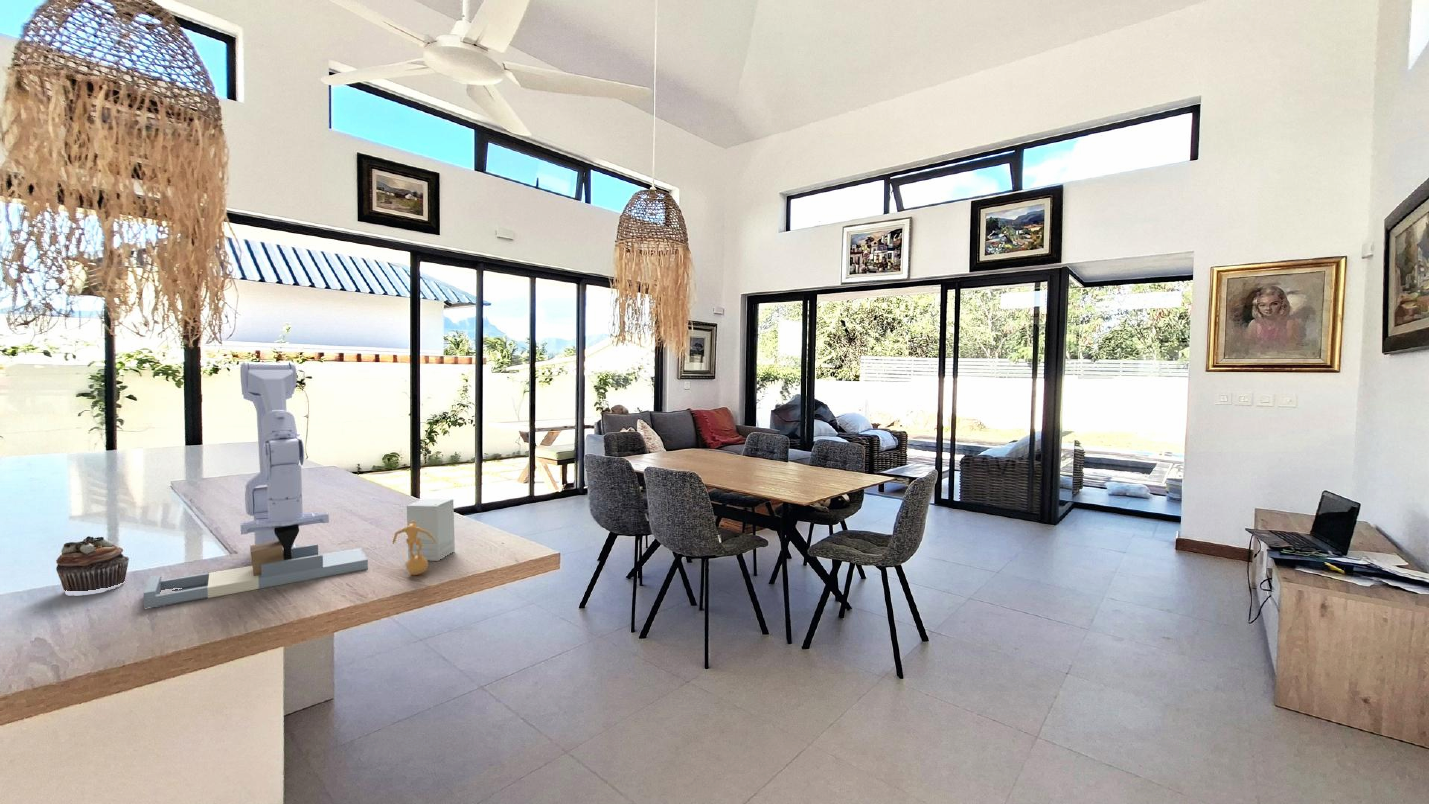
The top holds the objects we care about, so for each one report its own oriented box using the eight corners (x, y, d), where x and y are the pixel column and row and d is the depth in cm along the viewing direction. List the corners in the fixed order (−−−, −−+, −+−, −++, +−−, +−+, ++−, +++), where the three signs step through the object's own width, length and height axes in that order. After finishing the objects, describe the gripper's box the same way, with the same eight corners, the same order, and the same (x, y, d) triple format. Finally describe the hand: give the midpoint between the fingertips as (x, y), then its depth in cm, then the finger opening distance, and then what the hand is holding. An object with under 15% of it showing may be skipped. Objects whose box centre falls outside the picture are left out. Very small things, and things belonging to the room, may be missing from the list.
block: (253, 569, 118) (249, 545, 118) (283, 562, 122) (280, 539, 121) (253, 576, 115) (250, 551, 114) (285, 569, 118) (282, 545, 117)
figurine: (441, 570, 125) (440, 515, 124) (431, 580, 119) (430, 522, 118) (400, 571, 123) (399, 516, 123) (388, 582, 117) (387, 523, 117)
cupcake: (103, 596, 109) (101, 544, 108) (41, 600, 107) (38, 546, 106) (143, 578, 118) (141, 529, 117) (87, 581, 116) (84, 531, 116)
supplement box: (455, 551, 137) (455, 498, 137) (437, 561, 130) (436, 506, 129) (426, 550, 138) (425, 497, 137) (406, 560, 131) (405, 504, 130)
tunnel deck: (150, 592, 111) (149, 569, 111) (360, 556, 133) (359, 537, 132) (144, 609, 103) (143, 584, 103) (367, 568, 125) (367, 548, 125)
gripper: (239, 505, 111) (242, 575, 112) (329, 495, 121) (331, 559, 121) (239, 499, 117) (242, 565, 118) (325, 490, 126) (327, 551, 127)
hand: (287, 562), depth 120 cm, fingers closed, pressing on block
